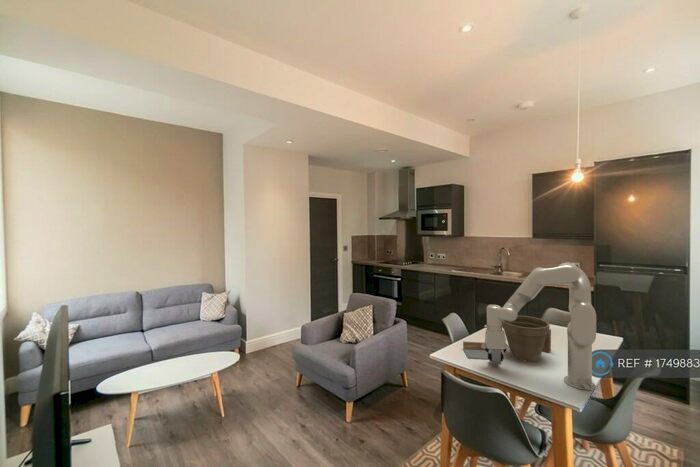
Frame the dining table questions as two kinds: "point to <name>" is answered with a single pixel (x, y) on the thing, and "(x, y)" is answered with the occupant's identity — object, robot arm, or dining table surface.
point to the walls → (473, 345)
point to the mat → (476, 354)
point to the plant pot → (526, 337)
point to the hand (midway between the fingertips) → (495, 359)
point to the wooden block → (547, 343)
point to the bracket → (496, 356)
